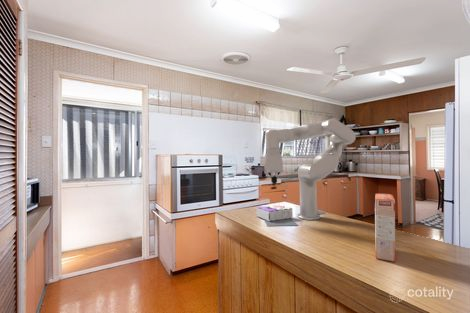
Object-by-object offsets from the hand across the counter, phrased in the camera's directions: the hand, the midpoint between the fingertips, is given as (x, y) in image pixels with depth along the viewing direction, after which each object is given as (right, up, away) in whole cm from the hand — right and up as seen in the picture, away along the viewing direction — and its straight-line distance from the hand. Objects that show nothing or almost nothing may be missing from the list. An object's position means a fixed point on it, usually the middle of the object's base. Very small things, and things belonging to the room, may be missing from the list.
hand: (274, 183), depth 132 cm
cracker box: (+32, -20, -48) cm, 61 cm away
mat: (+2, -21, 0) cm, 21 cm away
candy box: (-7, -17, +1) cm, 19 cm away
